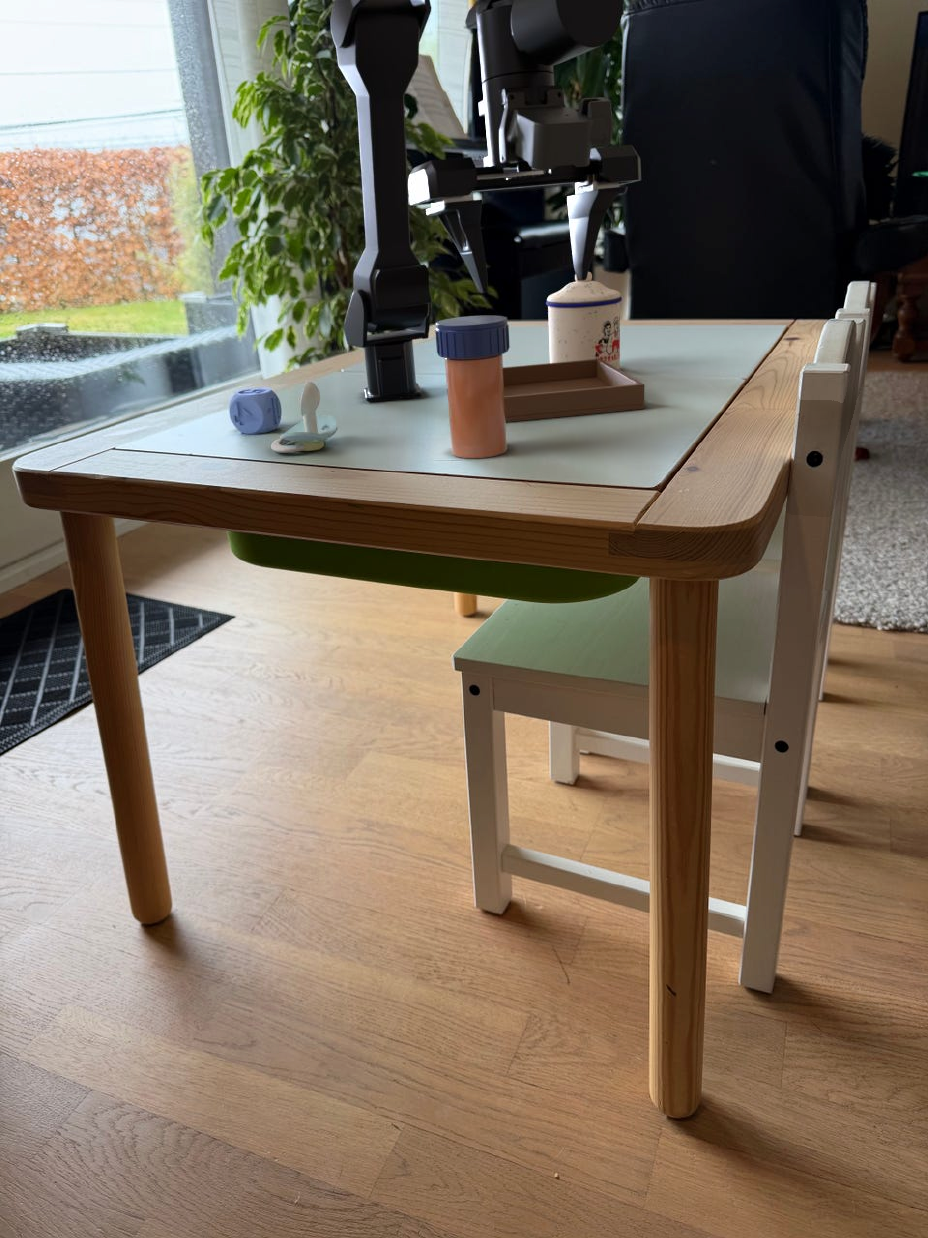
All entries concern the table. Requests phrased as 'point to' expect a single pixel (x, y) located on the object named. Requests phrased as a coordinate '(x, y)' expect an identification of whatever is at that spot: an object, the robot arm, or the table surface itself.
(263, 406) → the decorative dice
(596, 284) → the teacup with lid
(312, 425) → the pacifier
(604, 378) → the tray
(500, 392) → the jar
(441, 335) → the lid
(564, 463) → the table surface
